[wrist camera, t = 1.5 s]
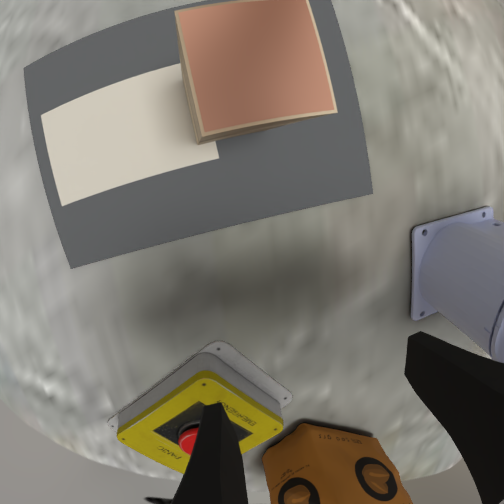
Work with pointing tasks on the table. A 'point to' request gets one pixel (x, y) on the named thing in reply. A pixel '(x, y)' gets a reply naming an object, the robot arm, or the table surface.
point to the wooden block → (252, 66)
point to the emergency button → (195, 398)
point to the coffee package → (331, 469)
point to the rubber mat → (175, 144)
